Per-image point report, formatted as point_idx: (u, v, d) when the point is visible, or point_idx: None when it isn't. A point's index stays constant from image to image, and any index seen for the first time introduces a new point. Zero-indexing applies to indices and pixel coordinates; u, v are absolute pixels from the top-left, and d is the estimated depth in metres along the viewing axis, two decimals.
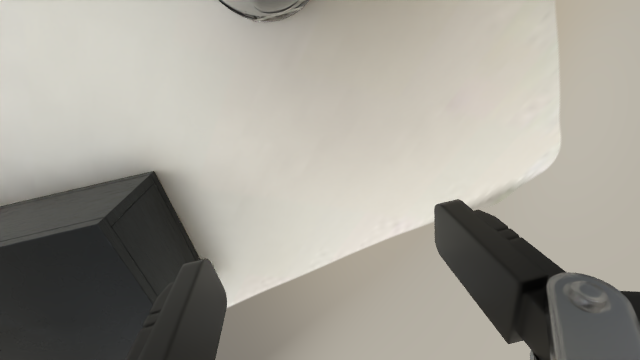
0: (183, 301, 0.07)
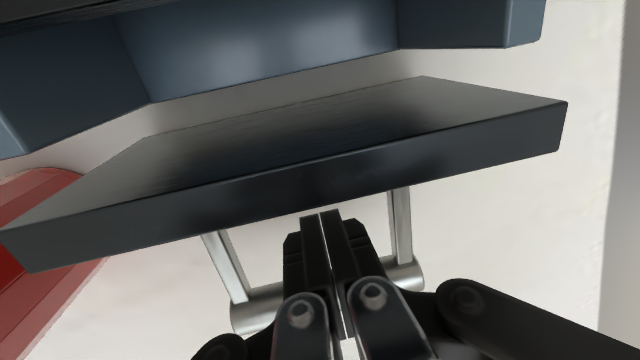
0: (319, 241, 0.08)
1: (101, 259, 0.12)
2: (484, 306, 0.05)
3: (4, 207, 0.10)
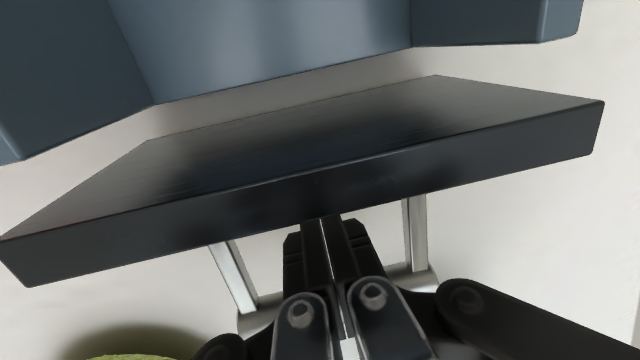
0: (319, 241, 0.08)
1: None
2: (484, 306, 0.05)
3: None
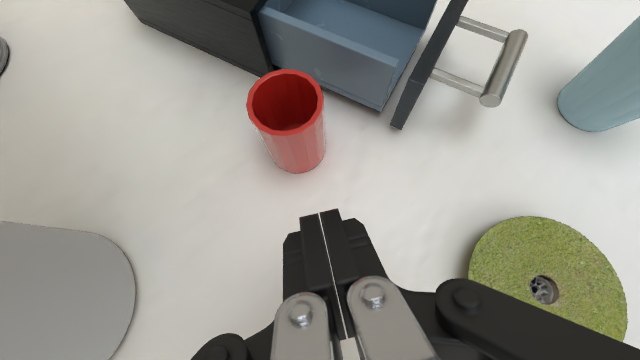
0: (319, 241, 0.08)
1: None
2: (484, 306, 0.05)
3: None
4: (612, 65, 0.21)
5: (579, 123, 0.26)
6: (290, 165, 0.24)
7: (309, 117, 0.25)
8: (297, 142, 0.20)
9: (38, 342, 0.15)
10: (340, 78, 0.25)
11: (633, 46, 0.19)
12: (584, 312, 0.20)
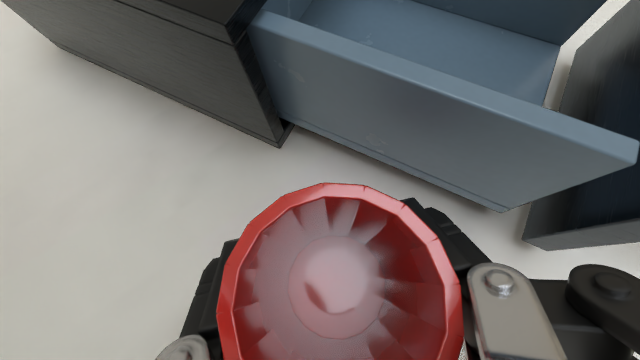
0: None
1: None
2: (635, 292, 0.05)
3: None
4: None
5: None
6: None
7: (363, 238, 0.12)
8: None
9: None
10: (427, 156, 0.12)
11: None
12: None
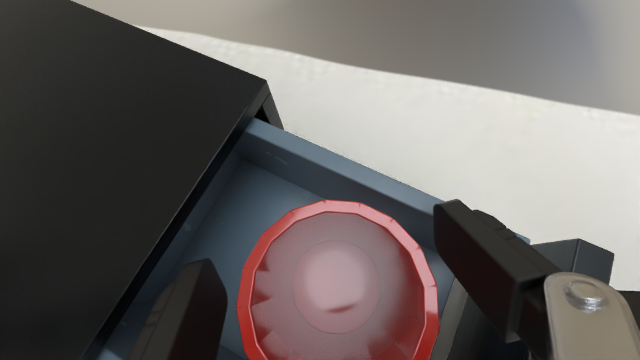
0: (185, 300, 0.07)
1: None
2: None
3: None
4: None
5: None
6: None
7: (360, 243, 0.13)
8: None
9: None
10: None
11: None
12: None
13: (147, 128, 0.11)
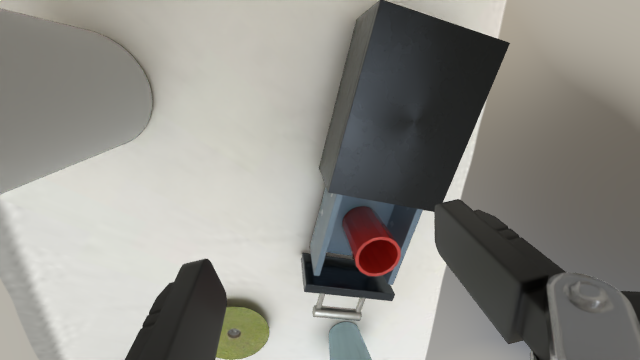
0: (183, 301, 0.07)
1: None
2: None
3: (383, 223, 0.36)
4: (346, 353, 0.42)
5: (330, 332, 0.48)
6: (345, 234, 0.37)
7: None
8: None
9: None
10: (318, 229, 0.37)
11: None
12: (230, 347, 0.44)
13: (416, 181, 0.30)
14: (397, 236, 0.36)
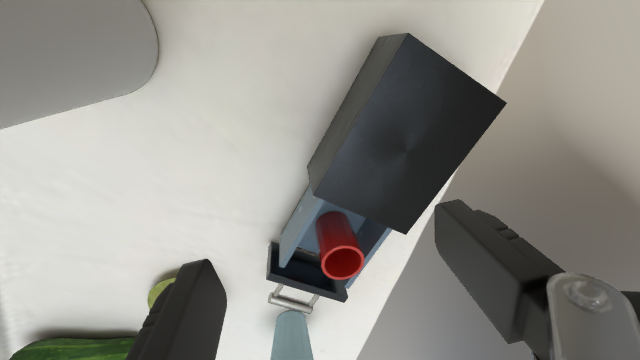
0: (183, 301, 0.07)
1: None
2: None
3: None
4: (289, 340, 0.45)
5: (278, 318, 0.50)
6: (316, 234, 0.39)
7: None
8: None
9: None
10: (292, 224, 0.38)
11: (291, 349, 0.43)
12: None
13: (394, 203, 0.33)
14: (363, 246, 0.39)
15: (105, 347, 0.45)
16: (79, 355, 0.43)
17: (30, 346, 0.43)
